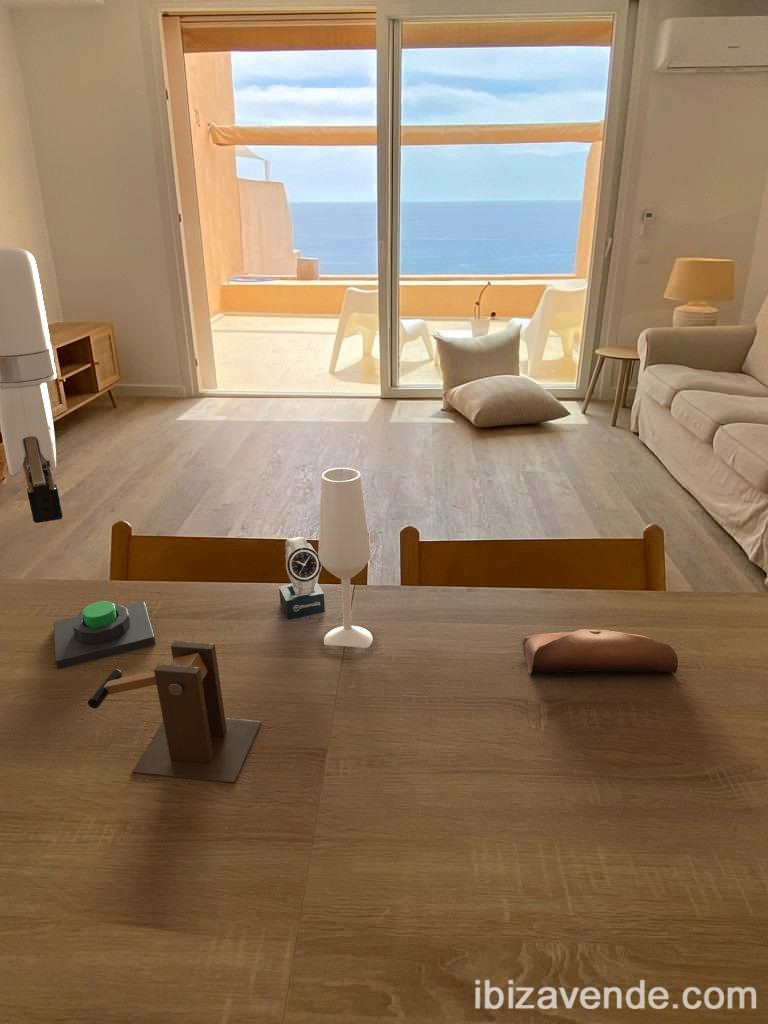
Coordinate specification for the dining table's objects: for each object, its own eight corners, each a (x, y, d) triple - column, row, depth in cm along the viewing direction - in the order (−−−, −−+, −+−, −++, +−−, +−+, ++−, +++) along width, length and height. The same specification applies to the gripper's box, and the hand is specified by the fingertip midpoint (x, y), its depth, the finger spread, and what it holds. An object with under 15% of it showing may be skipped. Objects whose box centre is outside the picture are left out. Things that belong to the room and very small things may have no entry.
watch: (291, 627, 97) (285, 557, 93) (277, 599, 104) (271, 533, 99) (329, 618, 99) (325, 550, 94) (313, 591, 106) (309, 526, 101)
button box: (59, 675, 88) (52, 649, 86) (56, 634, 96) (50, 610, 95) (156, 650, 92) (152, 625, 91) (146, 613, 101) (142, 590, 99)
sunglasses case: (653, 635, 93) (669, 613, 88) (665, 686, 89) (683, 665, 84) (518, 637, 93) (526, 614, 88) (525, 687, 89) (533, 667, 84)
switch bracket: (133, 780, 72) (111, 680, 66) (169, 721, 80) (153, 627, 75) (235, 791, 70) (221, 689, 65) (262, 729, 78) (251, 634, 73)
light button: (86, 631, 90) (83, 620, 90) (84, 616, 94) (81, 605, 93) (118, 623, 92) (115, 612, 91) (115, 609, 95) (112, 598, 95)
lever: (93, 714, 71) (82, 695, 71) (117, 683, 76) (107, 665, 75) (194, 693, 68) (184, 674, 68) (213, 663, 73) (203, 644, 72)
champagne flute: (320, 628, 97) (310, 467, 87) (368, 623, 98) (363, 463, 88) (326, 657, 91) (316, 487, 81) (377, 650, 92) (373, 482, 82)
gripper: (-18, 357, 81) (14, 501, 89) (-26, 385, 69) (13, 550, 76) (52, 352, 84) (77, 492, 91) (57, 378, 72) (86, 537, 79)
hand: (48, 518), depth 84 cm, fingers closed
